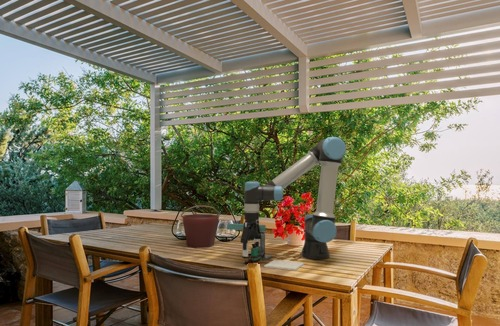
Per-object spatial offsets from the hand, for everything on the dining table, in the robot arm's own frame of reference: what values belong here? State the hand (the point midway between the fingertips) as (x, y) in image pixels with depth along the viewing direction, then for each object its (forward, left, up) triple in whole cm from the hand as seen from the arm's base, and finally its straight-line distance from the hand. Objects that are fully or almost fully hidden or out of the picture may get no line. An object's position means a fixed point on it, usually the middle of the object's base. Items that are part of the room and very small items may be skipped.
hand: (251, 253), depth 201 cm
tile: (-17, -2, -5) cm, 18 cm away
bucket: (+49, -30, -5) cm, 58 cm away
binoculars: (0, 0, -5) cm, 5 cm away
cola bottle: (+30, -65, -5) cm, 72 cm away
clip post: (0, -14, -5) cm, 15 cm away
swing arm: (+9, -13, +10) cm, 18 cm away
